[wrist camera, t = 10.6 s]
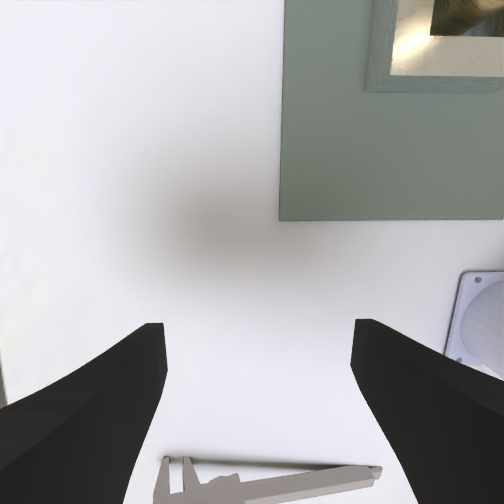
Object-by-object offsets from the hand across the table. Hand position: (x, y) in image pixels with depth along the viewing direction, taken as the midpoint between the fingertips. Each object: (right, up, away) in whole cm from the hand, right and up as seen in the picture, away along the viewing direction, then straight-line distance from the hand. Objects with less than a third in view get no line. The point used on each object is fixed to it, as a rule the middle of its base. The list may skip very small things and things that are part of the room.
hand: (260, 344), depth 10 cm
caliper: (+2, -16, +16) cm, 23 cm away
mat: (+10, +14, +7) cm, 19 cm away
